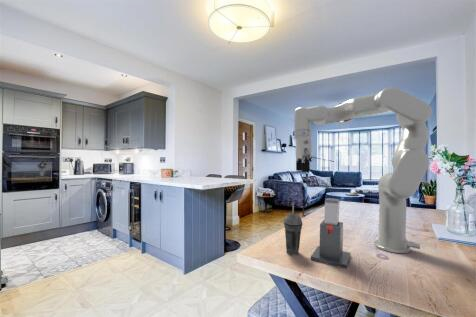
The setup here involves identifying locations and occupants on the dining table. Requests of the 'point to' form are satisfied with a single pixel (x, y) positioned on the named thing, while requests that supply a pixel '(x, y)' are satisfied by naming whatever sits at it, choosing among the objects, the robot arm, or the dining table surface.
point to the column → (331, 211)
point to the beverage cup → (292, 232)
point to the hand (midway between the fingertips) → (302, 171)
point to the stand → (331, 246)
